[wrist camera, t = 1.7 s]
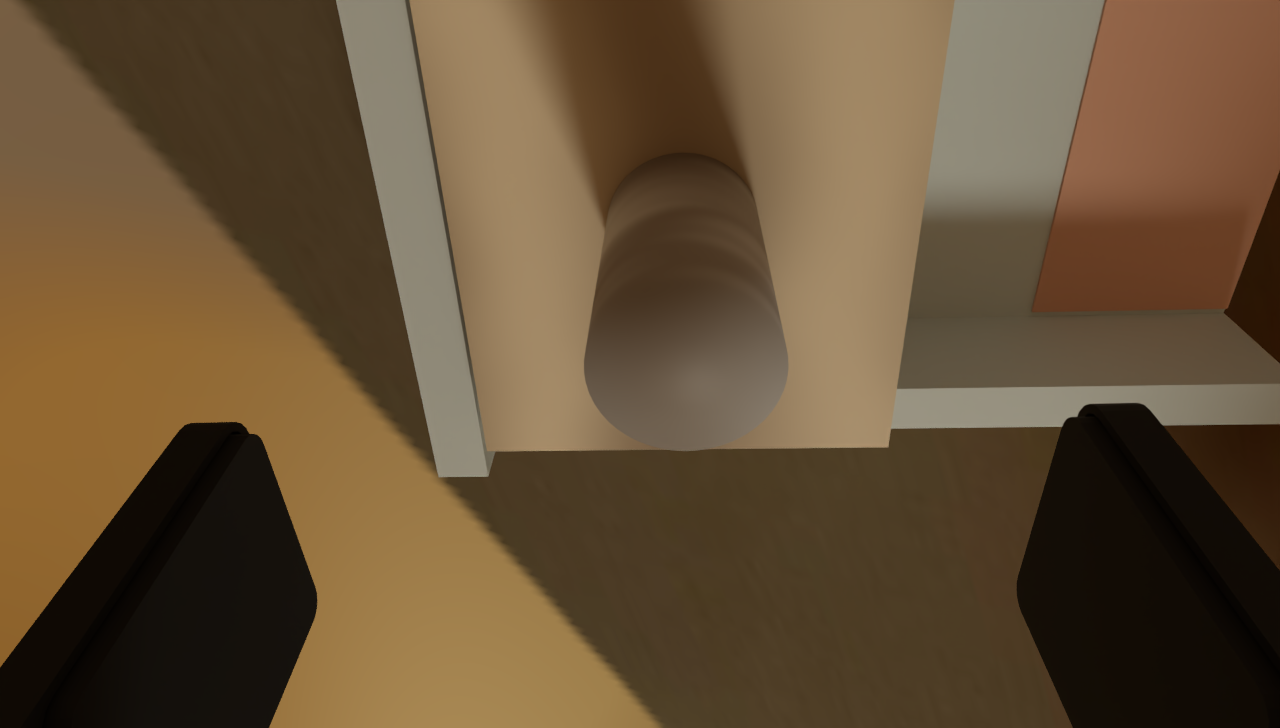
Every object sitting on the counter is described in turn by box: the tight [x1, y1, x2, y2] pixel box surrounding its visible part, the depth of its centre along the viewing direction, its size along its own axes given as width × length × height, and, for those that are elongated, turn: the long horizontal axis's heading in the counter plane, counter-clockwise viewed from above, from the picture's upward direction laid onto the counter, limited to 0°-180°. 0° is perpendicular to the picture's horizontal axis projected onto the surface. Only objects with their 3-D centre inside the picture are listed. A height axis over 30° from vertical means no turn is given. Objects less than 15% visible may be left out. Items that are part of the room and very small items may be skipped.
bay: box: [336, 0, 1280, 477], centre depth 22 cm, size 24×16×7 cm, turn 92°
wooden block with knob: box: [409, 0, 955, 451], centre depth 19 cm, size 10×12×13 cm
